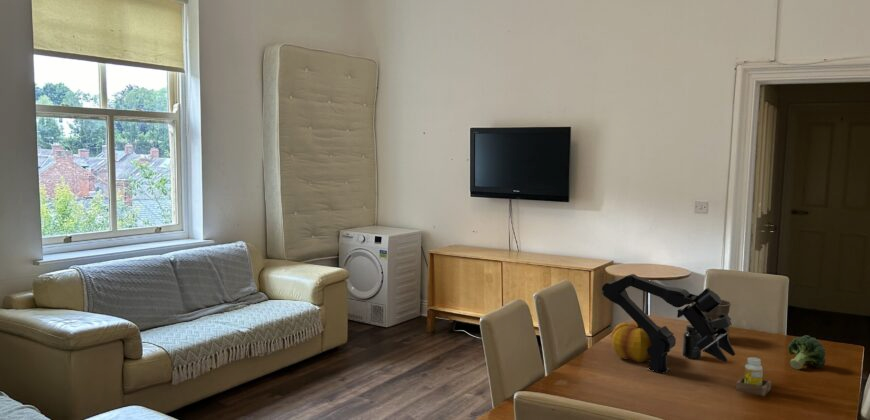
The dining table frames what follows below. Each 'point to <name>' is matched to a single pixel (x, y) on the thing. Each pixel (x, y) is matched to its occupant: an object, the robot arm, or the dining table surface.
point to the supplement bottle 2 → (753, 371)
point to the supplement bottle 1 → (691, 343)
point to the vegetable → (806, 352)
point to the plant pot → (718, 310)
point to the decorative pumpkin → (631, 342)
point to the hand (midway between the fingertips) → (730, 358)
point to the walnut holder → (753, 387)
